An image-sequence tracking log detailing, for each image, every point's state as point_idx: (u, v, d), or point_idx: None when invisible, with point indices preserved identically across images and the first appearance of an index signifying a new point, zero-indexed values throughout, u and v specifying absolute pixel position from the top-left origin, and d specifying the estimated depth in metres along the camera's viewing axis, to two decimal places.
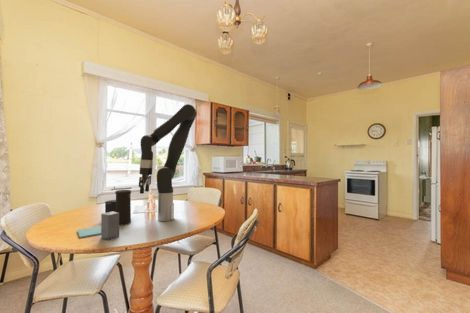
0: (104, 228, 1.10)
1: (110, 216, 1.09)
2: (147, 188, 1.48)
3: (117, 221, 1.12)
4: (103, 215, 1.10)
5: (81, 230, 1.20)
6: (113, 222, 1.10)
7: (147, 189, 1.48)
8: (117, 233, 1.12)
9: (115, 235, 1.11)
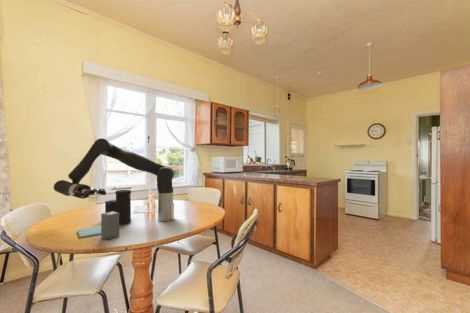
0: (104, 228, 1.10)
1: (110, 216, 1.09)
2: (102, 192, 1.22)
3: (117, 221, 1.12)
4: (103, 215, 1.10)
5: (81, 230, 1.20)
6: (113, 222, 1.10)
7: (103, 192, 1.21)
8: (117, 233, 1.12)
9: (115, 235, 1.11)
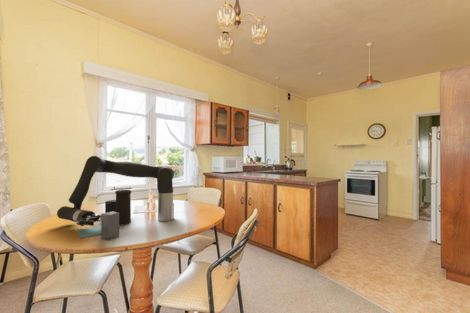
0: (104, 228, 1.10)
1: (110, 216, 1.09)
2: None
3: (117, 221, 1.12)
4: (103, 215, 1.10)
5: (81, 230, 1.20)
6: (113, 222, 1.10)
7: None
8: (117, 233, 1.12)
9: (115, 235, 1.11)
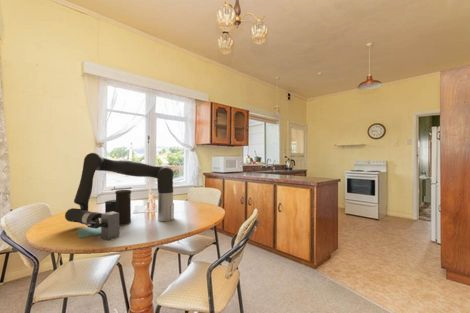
0: (104, 228, 1.10)
1: (110, 216, 1.09)
2: None
3: (117, 221, 1.12)
4: (103, 215, 1.10)
5: (81, 230, 1.20)
6: (113, 222, 1.10)
7: None
8: (117, 233, 1.12)
9: (115, 235, 1.11)
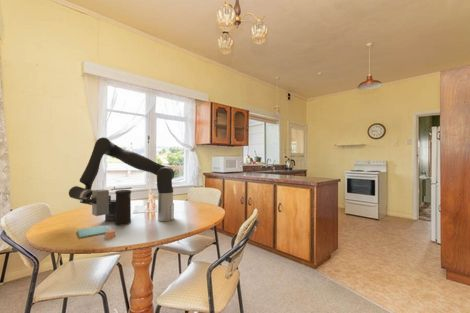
0: (94, 204, 1.13)
1: (99, 193, 1.12)
2: None
3: (106, 198, 1.14)
4: (93, 192, 1.13)
5: (81, 230, 1.20)
6: (102, 199, 1.13)
7: None
8: (107, 210, 1.15)
9: (104, 212, 1.14)
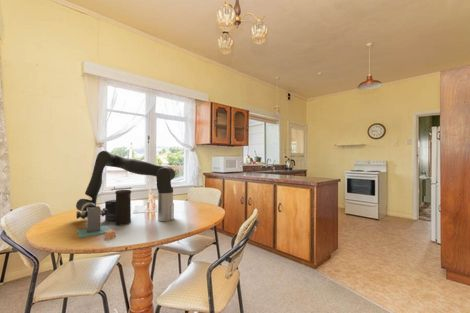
0: (87, 221, 1.18)
1: (90, 210, 1.17)
2: (101, 213, 1.22)
3: (98, 216, 1.19)
4: (87, 209, 1.19)
5: (81, 230, 1.20)
6: (93, 216, 1.17)
7: (102, 213, 1.22)
8: (98, 227, 1.19)
9: (95, 229, 1.18)
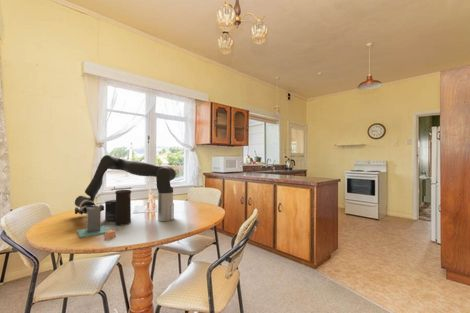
0: (87, 221, 1.18)
1: (90, 210, 1.16)
2: None
3: (98, 216, 1.19)
4: (87, 209, 1.19)
5: (81, 230, 1.20)
6: (93, 216, 1.17)
7: None
8: (98, 227, 1.19)
9: (95, 229, 1.18)
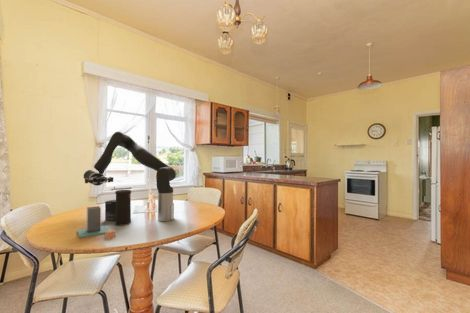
0: (87, 221, 1.18)
1: (90, 210, 1.16)
2: (108, 180, 1.32)
3: (98, 216, 1.19)
4: (87, 209, 1.19)
5: (81, 230, 1.20)
6: (93, 216, 1.17)
7: (108, 179, 1.32)
8: (98, 227, 1.19)
9: (95, 229, 1.18)
